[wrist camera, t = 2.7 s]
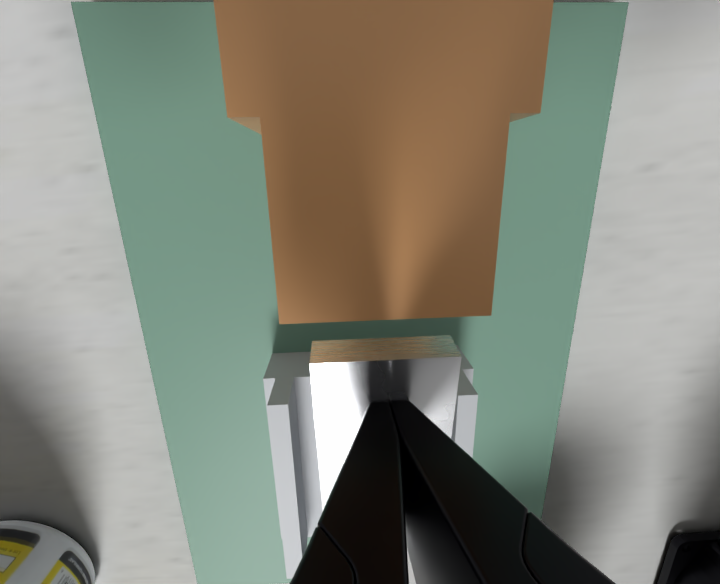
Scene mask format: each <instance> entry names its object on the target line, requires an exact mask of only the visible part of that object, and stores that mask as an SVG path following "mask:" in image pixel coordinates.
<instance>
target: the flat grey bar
mask: <svg viewBox="0 0 720 584" xmlns="http://www.w3.org/2000/svg"><path fill="white" fill-rule="evenodd" d="M461 358H462V356H461V354H460V353H459V351H458V349H457V347H456V345H455V343H454V341H453V339H452V337H451V335H440V336H417V337H394V338H371V339H348V340H325V341H312V346H311V355H310V374H311V385H312V397H313V408H314V420H315V431H316V443H317V454H318V466H319V477H320V489H321V500H322V512H323V510H324V507H325V505H326V503H327V500H328V498H329V496H330V493H331V491H332V489H333V486H334V484H335V482H336V479H337V477H338V475H339V472H340V470H341V468H342V465H343V463H344V461H345V459H346V456H347V454H348V452H349V449H350V447H351V445H352V442H353V440H354V438H355V435H356V433H357V431H358V428H359V426H360V424H361V421H362V419H363V417H364V415H365V412H366V410H367V408H368V405H369V404H370V402H376V401H387V402H389V404H390V402H391V401H395V400H409V401H410V402H411V403H412V404H414V405H415V406H416V407H417V408H418V409H419V410H420V411H421V412H422V413H423V414H425V415H426V416H427V417H428V418H429V419H430V420H431V421H432V422H433V423H434V424H436V425H437V426H438V427H439V428H440V429H441V430H442V431H443V432H444V433H445V434H447V435H448V436H449V437H450V438H451V436H452V428H453V420H454V412H455V405H456V397H457V389H458V381H459V373H460V366H461ZM407 557H408V574H409V584H416V581H415V577H414V573H413V569H412V565H411V561H410V557H409V553H408V549H407Z"/></svg>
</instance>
